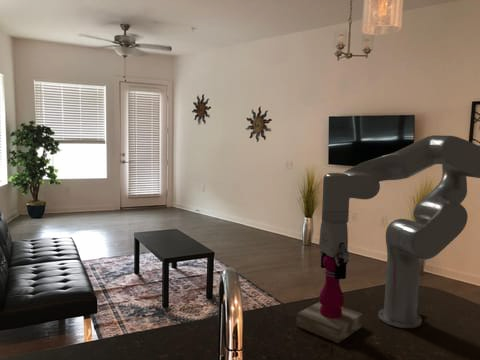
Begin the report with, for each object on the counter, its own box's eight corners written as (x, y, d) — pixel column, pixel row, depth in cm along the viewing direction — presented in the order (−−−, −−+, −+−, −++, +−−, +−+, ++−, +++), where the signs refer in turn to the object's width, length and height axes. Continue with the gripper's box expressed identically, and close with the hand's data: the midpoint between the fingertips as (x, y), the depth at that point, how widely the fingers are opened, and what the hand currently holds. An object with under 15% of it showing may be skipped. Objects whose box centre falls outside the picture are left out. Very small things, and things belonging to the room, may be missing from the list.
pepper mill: (344, 320, 118) (347, 252, 116) (318, 317, 120) (321, 250, 117) (342, 310, 125) (345, 245, 123) (318, 307, 127) (321, 244, 124)
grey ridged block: (321, 312, 133) (322, 300, 133) (362, 326, 124) (362, 313, 123) (296, 326, 123) (296, 313, 122) (338, 343, 113) (338, 329, 113)
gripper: (311, 210, 127) (309, 264, 129) (335, 222, 110) (333, 284, 112) (334, 209, 129) (332, 263, 131) (361, 221, 112) (358, 282, 114)
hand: (332, 273), depth 121 cm, fingers open, 9 cm apart
